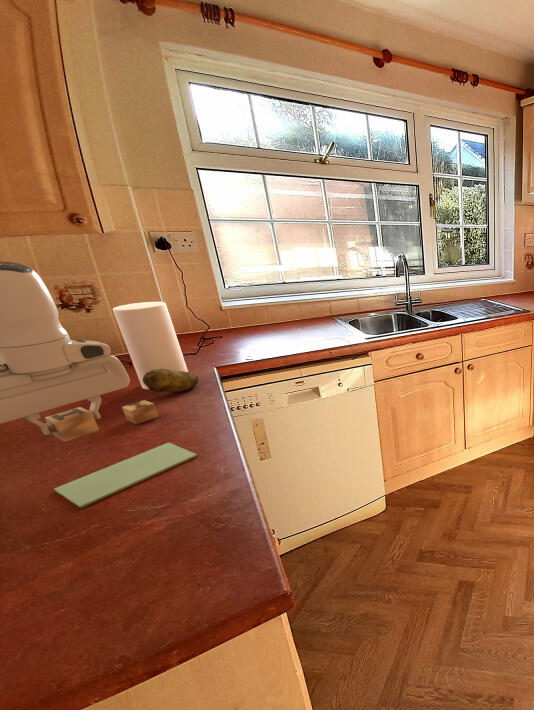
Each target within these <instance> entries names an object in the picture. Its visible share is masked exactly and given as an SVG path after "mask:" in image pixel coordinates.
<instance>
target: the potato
mask: <svg viewBox="0 0 534 710" xmlns="http://www.w3.org/2000/svg"><path fill="white" fill-rule="evenodd" d="M199 381H200V380H199V377H198V375H197V373H195V372H191V371H188V372H186V371H173V370H168V369H155V370H151V371H149V372H147V373H146V374H145V375H144V377H143V383H144V384H145V385H146V386H147V387H148V389H147V390H149V389H150V391H153V392H155V393H174V394H175V393H182V392H185V391H188V390H190V389H192V388H194V387H195V386H196V385H198V383H199Z"/></svg>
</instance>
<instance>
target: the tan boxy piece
mask: <svg viewBox="0 0 534 710" xmlns="http://www.w3.org/2000/svg"><path fill="white" fill-rule="evenodd" d="M121 410H122V411H123V413H124V416H125V418H126V421H127V422H129V423H132V424H134V425H140V424H142V423H145V422H147V421H151V420H154V419H156V418H159V414H158V411H157V409H156V406H155V403H154V402H151V401H148V400H145V399H143V400H140V401H137V402H134V403H133V402H132V403H130V404H127V405H124V406H122V407H121Z"/></svg>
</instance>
